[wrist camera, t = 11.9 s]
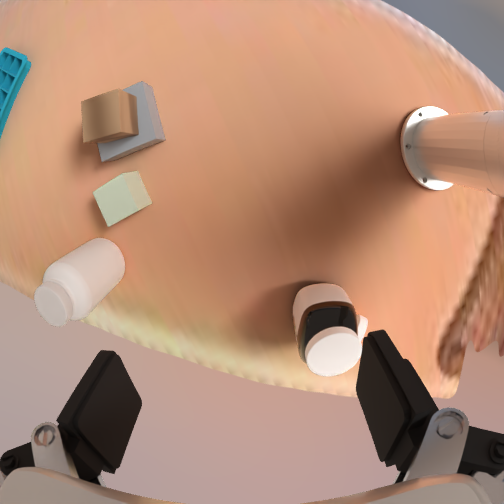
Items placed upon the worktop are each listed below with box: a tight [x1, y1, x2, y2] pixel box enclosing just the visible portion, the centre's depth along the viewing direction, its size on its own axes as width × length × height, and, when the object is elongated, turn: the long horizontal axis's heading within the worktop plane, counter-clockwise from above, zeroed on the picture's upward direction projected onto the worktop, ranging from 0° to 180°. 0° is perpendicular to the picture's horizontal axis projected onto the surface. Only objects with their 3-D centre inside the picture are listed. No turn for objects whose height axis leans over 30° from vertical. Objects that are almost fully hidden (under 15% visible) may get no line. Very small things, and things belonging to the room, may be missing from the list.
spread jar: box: [293, 283, 368, 376], centre depth 36 cm, size 12×11×12 cm
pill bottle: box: [34, 238, 125, 327], centre depth 31 cm, size 8×8×15 cm
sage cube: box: [93, 171, 152, 227], centre depth 33 cm, size 5×5×5 cm
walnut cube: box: [81, 89, 139, 143], centre depth 26 cm, size 5×5×5 cm
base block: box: [97, 81, 166, 162], centre depth 30 cm, size 8×8×4 cm
